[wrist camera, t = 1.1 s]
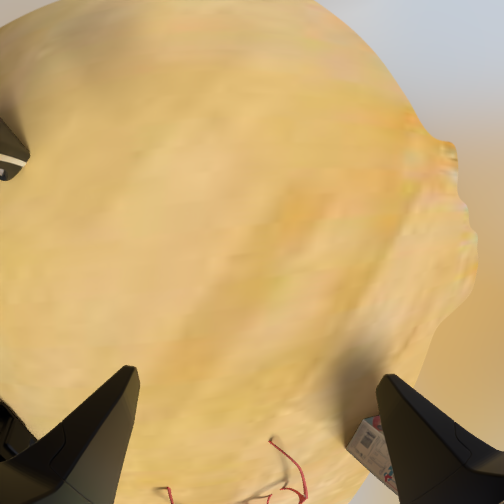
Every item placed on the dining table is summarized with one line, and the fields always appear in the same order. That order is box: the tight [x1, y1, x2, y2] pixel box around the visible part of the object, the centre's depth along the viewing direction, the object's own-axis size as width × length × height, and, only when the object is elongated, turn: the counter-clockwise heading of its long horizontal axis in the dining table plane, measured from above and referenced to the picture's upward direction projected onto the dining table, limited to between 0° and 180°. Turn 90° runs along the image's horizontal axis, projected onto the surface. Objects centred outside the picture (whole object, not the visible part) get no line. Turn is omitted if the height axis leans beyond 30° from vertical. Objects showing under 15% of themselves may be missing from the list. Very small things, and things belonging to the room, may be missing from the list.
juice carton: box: [346, 415, 398, 495], centre depth 28 cm, size 7×7×22 cm
